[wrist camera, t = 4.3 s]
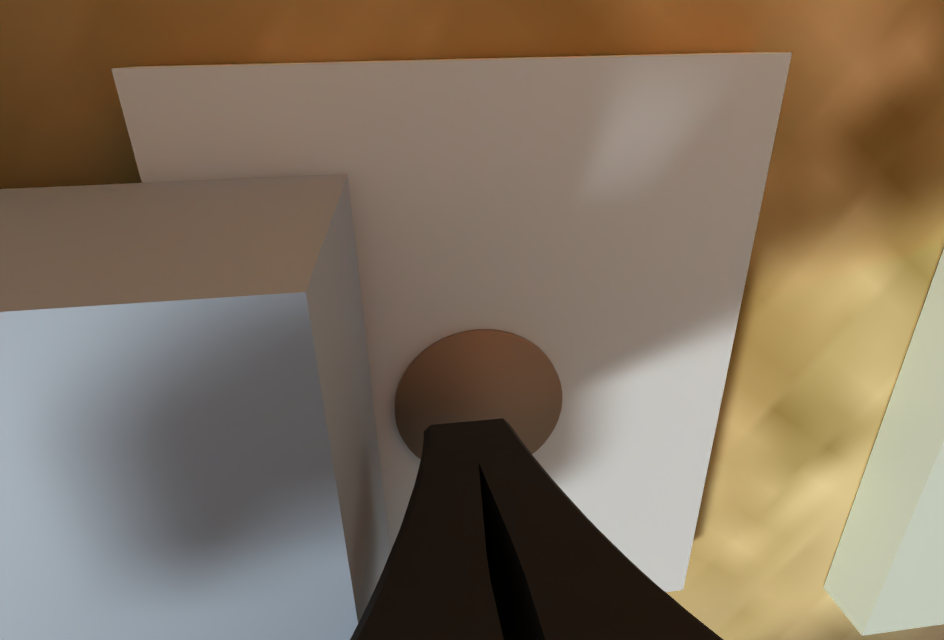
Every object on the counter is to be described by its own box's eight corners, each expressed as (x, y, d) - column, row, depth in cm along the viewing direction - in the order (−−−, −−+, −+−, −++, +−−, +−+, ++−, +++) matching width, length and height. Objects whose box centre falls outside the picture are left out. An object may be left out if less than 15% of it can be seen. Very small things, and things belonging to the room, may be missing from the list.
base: (665, 557, 15) (685, 595, 14) (273, 605, 14) (263, 649, 13) (755, 52, 10) (798, 52, 9) (140, 66, 9) (105, 69, 8)
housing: (394, 592, 12) (395, 863, 8) (-57, 646, 11) (-308, 983, 7) (347, 173, 8) (305, 291, 4) (-342, 203, 8) (-1225, 391, 3)
